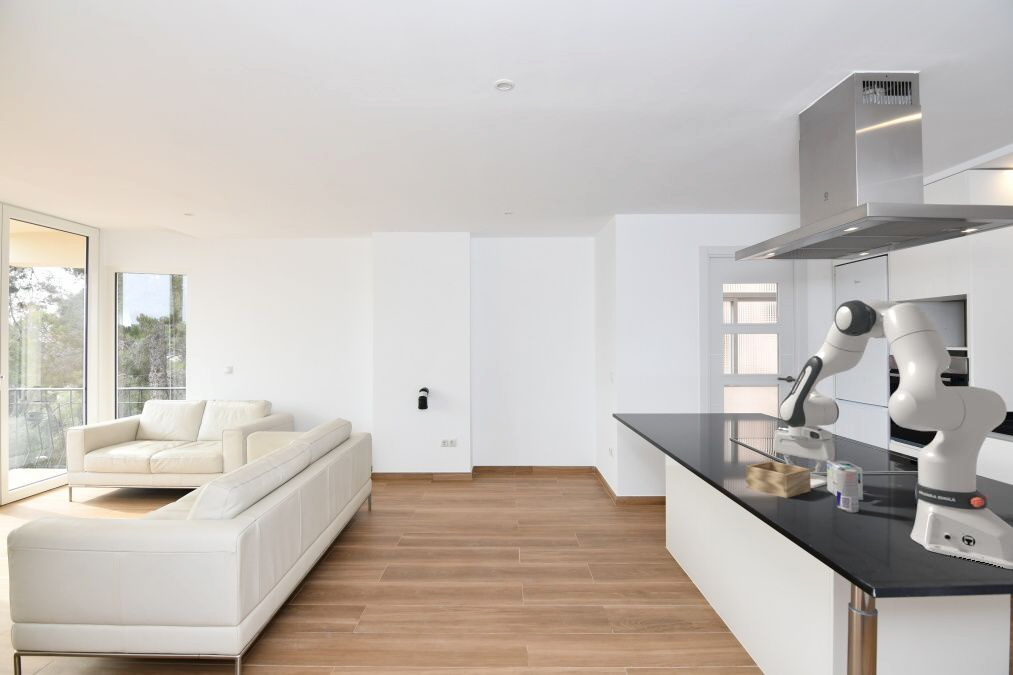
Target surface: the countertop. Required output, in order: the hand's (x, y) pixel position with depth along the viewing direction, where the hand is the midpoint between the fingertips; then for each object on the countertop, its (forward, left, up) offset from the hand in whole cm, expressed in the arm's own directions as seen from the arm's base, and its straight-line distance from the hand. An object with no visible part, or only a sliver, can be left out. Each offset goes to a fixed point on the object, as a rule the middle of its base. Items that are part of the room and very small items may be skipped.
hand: (802, 469), depth 187 cm
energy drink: (-24, +20, -5) cm, 32 cm away
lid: (0, 0, -5) cm, 5 cm away
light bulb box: (-17, +7, -5) cm, 19 cm away
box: (-2, +19, -4) cm, 20 cm away
